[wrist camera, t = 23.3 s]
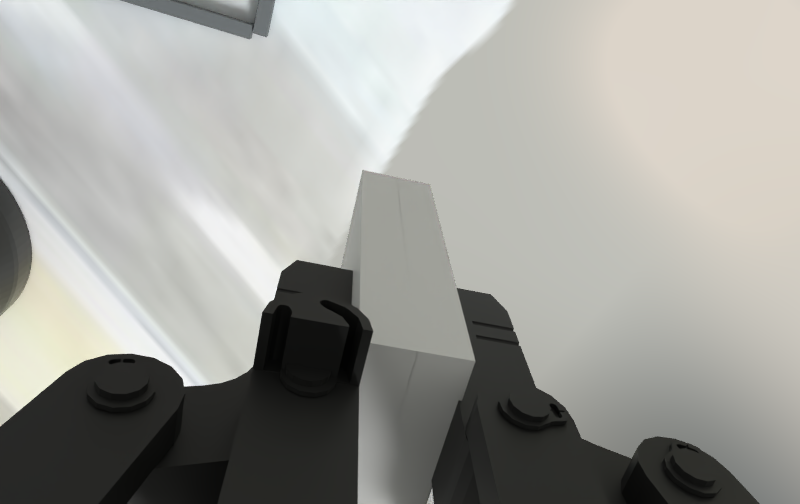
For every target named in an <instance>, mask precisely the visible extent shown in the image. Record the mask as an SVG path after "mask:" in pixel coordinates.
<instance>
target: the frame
mask: <svg viewBox="0 0 800 504" xmlns="http://www.w3.org/2000/svg"><path fill="white" fill-rule="evenodd" d="M121 1H125V2H128V3H131V4H135V5H138V6H141V7H145V8H148V9H151V10H154V11H158V12H161V13H164V14H168V15H171V16H174V17H178V18H181V19H184V20H188V21H191V22H194V23H198V24H201V25H204V26H208V27H211V28H214V29H217V30H221V31H224V32H227V33H231V34H234V35H237V36H241V37H244V38H247V39H251V38H252V33H255V34H258V35H261V36H265V37H267V36H268V32H269V27H270V22H271V18H272V13H273V8H274V3H275V0H259V3H258V8H257V14H256V19H255V24H252V23H248V22H245V21H242V20H238V19H235V18H232V17H229V16H225V15H222V14H219V13H216V12H212V11H209V10H206V9H202V8H199V7H196V6H193V5H189V4H186V3H183V2H180V1H176V0H121ZM253 28H254V29H253Z"/></svg>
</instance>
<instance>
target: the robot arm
mask: <svg viewBox="0 0 800 504" xmlns="http://www.w3.org/2000/svg"><path fill="white" fill-rule="evenodd" d="M31 262H32V247H31V240H30V235H29V231H28V228H27V224H26V222H25V219H24V217H23V214H22V212H21V210H20V208H19V206H18V205H17V203H16V201H15V199H14V198H13V196H12V195H11V193H10V192H9V190H8V189H7V188H6V187H5V185H4V184H3V183H2V182H1V180H0V316H1V315H2V314H3V313H4V312H5V311H6V310H7V309H8V308H9V307H10V306H11V305H12V304H13V303H14V302H15V301H16V300H17V298H18V297H19V296H20V294H21V293H22V291H23V289H24V287H25V285H26V283H27V280H28V277H29V274H30V269H31ZM513 329H514V328H513V325H512V323H511V320H510V317H509V315H508V312H507V311H506V310H505V309H504V308H503V306H501V304H499V302H497V300H496V299H495V298H494V297H493V296H492V295H491V294H485V293H480V292H475V291H469V290H464V289H458V288H456V284H455V280H454V276H453V272H452V268H451V264H450V260H449V257H448V253H447V249H446V245H445V241H444V237H443V233H442V229H441V225H440V221H439V218H438V214H437V210H436V206H435V203H434V198H433V194H432V191H431V186H430V184H425V183H421V182H416V181H411V180H407V179H402V178H397V177H393V176H388V175H383V174H379V173H374V172H369V171H364V170H362V175H361V179H360V184H359V189H358V193H357V198H356V202H355V207H354V211H353V216H352V220H351V225H350V229H349V234H348V238H347V243H346V247H345V252H344V256H343V261H342V265H341V268H336V267H331V266H326V265H320V264H315V263H310V262H304V261H299V260H296V261H295V262H294V263H292V264H291V265H290V266H288V267H287V268H286V269H284V270H283V271H282V272H281V275H280V279H279V283H278V287H277V291H276V295H275V298H274V300H272V301H270V302H269V303H268V305H267V306H266V308H265V309H264V311H263V312H262V318H261V324H260V330H259V336H258V342H257V347H256V353H255V359H254V365H253V367H252V368H251V369H250V370H249V371H248V372H247V373H245V374H243V375H241V376H239V377H238V378H236V379H233V380H230V381H227V382H223V383H219V384H212V385H205V386H188V387H184V385H183V379H182V378H181V377H180V376H179V374H178V373H177V372H176V371H175V370H174V369H173V368H172V367H171V366H169V365H167V364H165V363H163V362H161V361H159V360H157V359H155V358H151V357H146V356H141V355H135V354H114V355H105V356H101V357H97V358H94V359H90V360H86V361H84V362H82V363H80V364H78V365H77V366H75V367H73V368H72V369H70V370H68V371H66V372H65V373H64V374H63V375H62V376H60V377H59V378H58V379H57V380H56V381H54V382H53V383H52V384H51V385H50V386H48V387H47V388H46V389H45V390H44V391H42V392H41V393H40V394H39V395H38V396H36V397H35V398H34V399H33V400H32V401H30V402H29V403H28V404H27V405H26V406H24V407H23V408H22V409H21V410H20V411H18V412H17V413H16V414H15V415H14V416H12V417H11V418H10V419H9V420H8V421H6V422H5V423H4V424H3V425H2V426H0V504H426V503H427V501H428V498H429V495H430V492H431V489H432V490H433V498H434V504H759V503H758V502H757V500H756V499H755V498H754V497H753V496H752V495H751V494H750V493H749V492H748V491H747V490H746V489H745V488H744V487H743V485H742V484H741V483H740V482H739V481H738V480H737V479H736V478H735V477H734V476H733V475H732V474H731V473H730V472H729V471H728V470H727V469H726V468H725V467H724V466H722V465H721V464H720V463H719V462H718V461H716V459H714V458H713V457H711V456H710V455H708V454H706V453H705V452H703V451H701V450H700V449H699V448H698V447H696V446H693V445H691V444H689V443H685V442H682V441H679V440H676V439H672V438H664V437H654V438H649V439H645V440H644V441H643V442H642V443H641V444H640V445H639V446H638V448H637V450H636V452H635V453H634V455H633V457H632V459H631V458H629V457H626V456H623V455H621V454H618V453H616V452H613V451H610V450H607V449H605V448H602V447H600V446H597V445H595V444H592V443H590V442H588V441H586V440H584V439H582V438H581V437H580V434H579V432H578V430H577V427H576V425H575V423H574V420H573V419H572V418H571V416H570V414H569V413H568V411H567V410H566V408H565V407H564V406H563V405H561V404H560V403H559V402H558V401H557V400H555V399H554V398H553V397H552V396H550V395H549V394H547V393H545V392H543V391H541V390H539V389H537V388H536V386H535V384H534V381H533V378H532V376H531V373H530V370H529V368H528V365H527V362H526V360H525V357H524V354H523V352H522V349H521V347H520V346H519V341H518V339H517V336H516V333H515V332H513Z"/></svg>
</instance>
